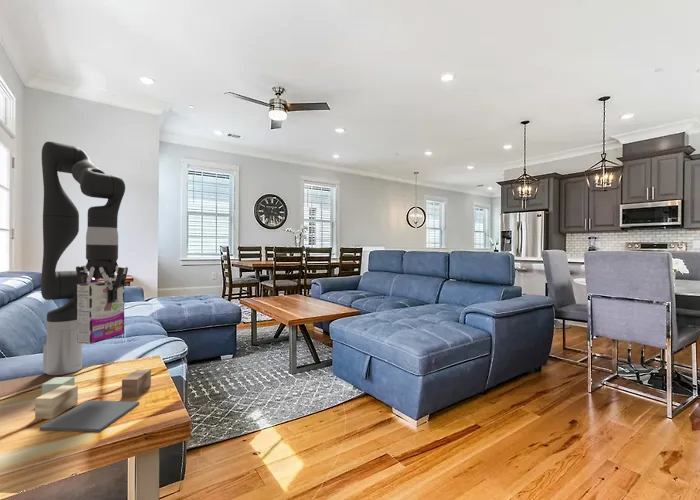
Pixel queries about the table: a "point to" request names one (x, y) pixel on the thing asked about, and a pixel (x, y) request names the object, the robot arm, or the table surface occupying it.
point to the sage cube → (57, 383)
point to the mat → (90, 416)
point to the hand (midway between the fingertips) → (101, 302)
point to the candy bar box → (98, 313)
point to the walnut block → (136, 383)
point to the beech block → (56, 401)
